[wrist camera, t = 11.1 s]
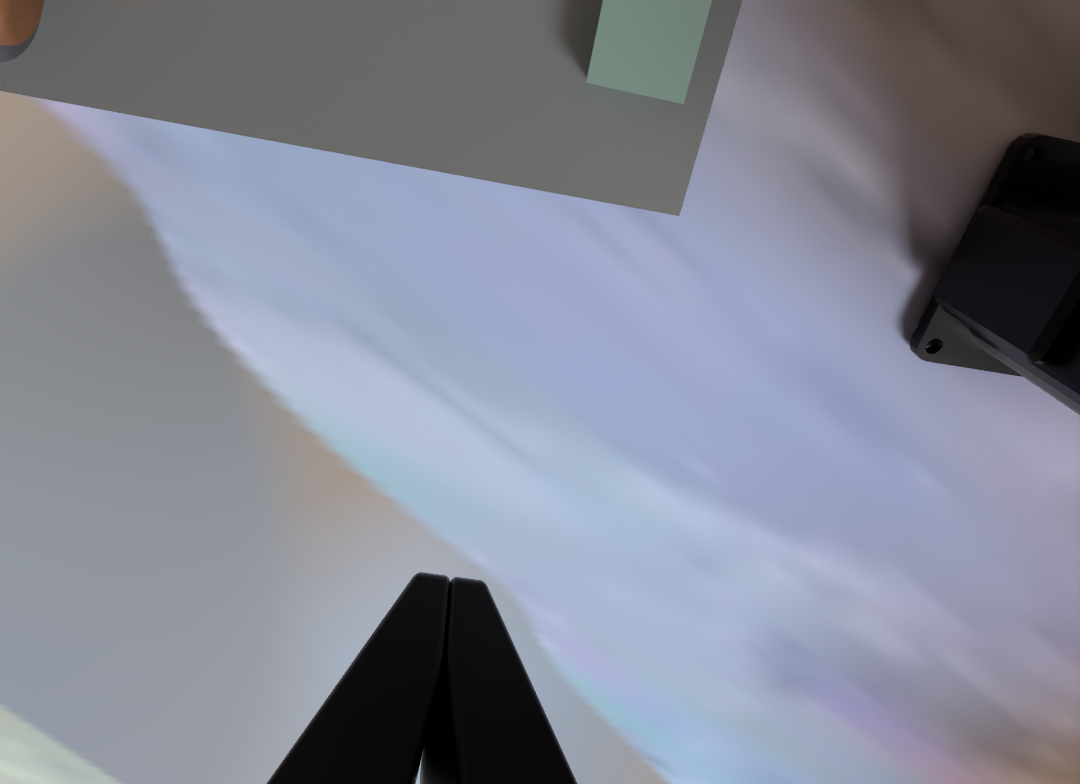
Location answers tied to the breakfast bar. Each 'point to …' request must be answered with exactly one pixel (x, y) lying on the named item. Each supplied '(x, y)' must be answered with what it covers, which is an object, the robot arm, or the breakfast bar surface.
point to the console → (412, 81)
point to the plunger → (18, 26)
